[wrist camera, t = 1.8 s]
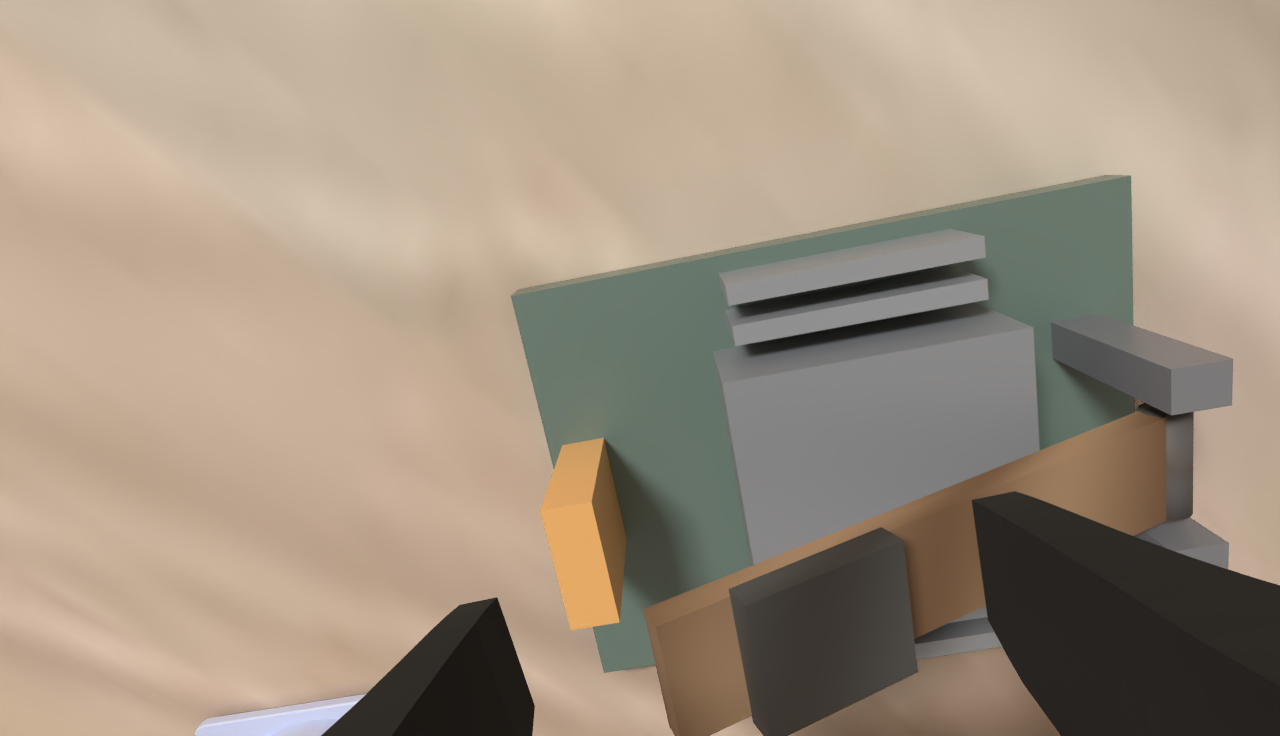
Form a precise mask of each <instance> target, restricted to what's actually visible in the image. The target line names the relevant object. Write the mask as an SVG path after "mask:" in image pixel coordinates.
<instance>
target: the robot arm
mask: <svg viewBox="0 0 1280 736" xmlns="http://www.w3.org/2000/svg"><path fill="white" fill-rule="evenodd" d="M972 507H973V514H974V521H975V529H976V536H977V543H978V551H979V558H980V565H981V573H982V580H983V587H984V595H985V602H986V609H987V617H988V621H989V623H990V625H991V627H992V628H993V630H994V632H995V634H996V636H997V638H998V639H999V641H1000V643H1001V645H1002V647H1003V649H1004V651H1005V652H1006V654H1007V656H1008V658H1009V659H1010V661H1011V663H1012V665H1013V666H1014V668H1015V670H1016V672H1017V673H1018V675H1019V677H1020V679H1021V680H1022V682H1023V684H1024V685H1025V686H1026V688H1027V689H1028V691H1029V692H1030V693H1031V695H1032V696H1033V698H1034V699H1035V700H1036V702H1037V703H1038V704H1039V706H1040V707H1041V709H1042V710H1043V711H1044V713H1045V714H1046V715H1047V717H1048V718H1049V720H1050V721H1051V722H1052V724H1053V725H1054V726H1055V728H1056V729H1057V731H1058V732H1059V733H1060V735H1061V736H1280V585H1276V584H1273V583H1269V582H1266V581H1263V580H1259V579H1256V578H1253V577H1250V576H1246V575H1243V574H1240V573H1237V572H1234V571H1231V570H1228V569H1225V568H1222V567H1219V566H1216V565H1213V564H1210V563H1207V562H1204V561H1201V560H1198V559H1195V558H1192V557H1189V556H1186V555H1183V554H1181V553H1178V552H1175V551H1172V550H1169V549H1167V548H1164V547H1161V546H1158V545H1156V544H1153V543H1150V542H1148V541H1145V540H1142V539H1140V538H1137V537H1134V536H1132V535H1129V534H1127V533H1124V532H1121V531H1119V530H1116V529H1114V528H1111V527H1109V526H1106V525H1103V524H1101V523H1098V522H1096V521H1093V520H1091V519H1088V518H1086V517H1083V516H1081V515H1078V514H1076V513H1073V512H1071V511H1068V510H1066V509H1063V508H1061V507H1058V506H1055V505H1053V504H1050V503H1048V502H1045V501H1042V500H1040V499H1037V498H1034V497H1031V496H1029V495H1026V494H1022V493H1019V492H1016V491H1013V492H1008V493H1003V494H999V495H994V496H989V497H984V498H979V499H974V500H972ZM534 707H535V706H534V703H533V700H532V697H531V694H530V691H529V688H528V685H527V682H526V680H525V677H524V674H523V671H522V668H521V665H520V662H519V659H518V656H517V654H516V651H515V648H514V645H513V642H512V639H511V636H510V633H509V630H508V627H507V625H506V622H505V619H504V616H503V613H502V610H501V607H500V604H499V601H498V598H492V599H487V600H482V601H477V602H472V603H468V604H463V605H459V606H458V607H457V608H456V609H454V610H453V611H452V612H451V613H450V614H448V615H447V616H446V617H445V618H444V619H443V620H442V621H441V622H440V623H439V624H437V625H436V626H435V627H434V628H433V629H432V630H431V631H430V632H429V633H428V634H427V635H426V636H425V637H424V638H423V639H422V640H421V641H420V642H419V643H418V644H417V645H416V646H415V647H414V648H413V649H412V650H411V651H410V652H409V653H408V654H407V655H406V656H405V657H404V658H403V659H402V660H401V661H400V662H399V663H398V664H397V665H396V666H395V667H394V668H393V669H392V670H391V671H390V672H388V673H387V674H386V675H385V676H384V677H383V678H382V679H381V680H380V681H379V682H378V683H377V684H376V685H375V686H374V687H373V688H372V689H371V690H370V691H369V692H368V693H367V694H362V695H355V696H349V697H343V698H336V699H330V700H323V701H317V702H310V703H304V704H297V705H291V706H284V707H278V708H271V709H265V710H258V711H252V712H246V713H239V714H233V715H226V716H220V717H213V718H209V719H206V720H204V721H203V722H202V723H201V725H200V726H199V727H198V728H197V730H196V732H195V736H532V731H533V719H534Z"/></svg>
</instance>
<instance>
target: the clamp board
mask: <svg viewBox="0 0 1280 736" xmlns="http://www.w3.org/2000/svg"><path fill="white" fill-rule="evenodd" d="M511 298H512V302H513V306H514V310H515V314H516V318H517V322H518V326H519V330H520V334H521V339H522V343H523V347H524V351H525V355H526V359H527V363H528V367H529V371H530V375H531V379H532V383H533V387H534V391H535V395H536V399H537V403H538V407H539V411H540V415H541V419H542V423H543V427H544V432H545V436H546V440H547V444H548V448H549V452H550V456H551V460H552V464H553V468H554V471H553V474H552V477H551V480H550V483H549V486H548V489H547V492H546V495H545V498H544V501H543V504H542V507H541V510H540V512H541V516H542V520H543V524H544V528H545V532H546V536H547V539H548V543H549V547H550V551H551V555H552V559H553V563H554V567H555V571H556V574H557V578H558V582H559V586H560V590H561V594H562V598H563V602H564V606H565V609H566V613H567V617H568V621H569V625H570V629H571V630H575V629H581V628H588V627H593V630H594V634H595V638H596V642H597V646H598V650H599V654H600V658H601V662H602V666H603V670H604V673H606V672H612V671H619V670H625V669H632V668H638V667H645V666H651V665H656V664H655V659H654V655H653V650H652V646H651V642H650V637H649V633H648V628H647V624H646V619H645V615H644V610H643V609H645V608H648V607H650V606H653V605H655V604H658V603H660V602H663V601H665V600H668V599H670V598H673V597H675V596H678V595H680V594H683V593H685V592H688V591H690V590H693V589H695V588H697V587H700V586H702V585H705V584H707V583H710V582H712V581H715V580H717V579H720V578H722V577H725V576H727V575H730V574H732V573H735V572H737V571H740V570H742V569H745V568H747V567H750V566H752V565H755V564H757V563H760V562H762V561H765V560H767V559H770V558H772V557H775V556H777V555H780V554H782V553H785V552H787V551H790V550H792V549H795V548H797V547H800V546H802V545H805V544H807V543H810V542H812V541H815V540H817V539H820V538H822V537H825V536H827V535H830V534H832V533H835V532H837V531H840V530H842V529H845V528H847V527H850V526H852V525H855V524H857V523H860V522H862V521H865V520H867V519H870V518H872V517H875V516H877V515H880V514H882V513H885V512H887V511H890V510H892V509H895V508H897V507H900V506H902V505H905V504H907V503H910V502H912V501H915V500H917V499H920V498H922V497H925V496H927V495H930V494H932V493H935V492H937V491H940V490H942V489H945V488H947V487H950V486H952V485H955V484H957V483H960V482H962V481H965V480H967V479H970V478H972V477H975V476H977V475H980V474H982V473H985V472H987V471H990V470H992V469H995V468H997V467H1000V466H1002V465H1005V464H1007V463H1010V462H1012V461H1015V460H1017V459H1020V458H1022V457H1025V456H1027V455H1030V454H1032V453H1035V452H1037V451H1040V450H1042V449H1045V448H1047V447H1050V446H1052V445H1055V444H1057V443H1060V442H1062V441H1065V440H1067V439H1070V438H1072V437H1075V436H1077V435H1080V434H1082V433H1085V432H1087V431H1090V430H1092V429H1095V428H1097V427H1100V426H1102V425H1105V424H1107V423H1110V422H1112V421H1115V420H1117V419H1120V418H1122V417H1124V416H1127V415H1129V414H1132V413H1134V398H1136V399H1138V400H1140V401H1142V402H1144V403H1147V404H1149V405H1151V406H1153V407H1155V408H1157V409H1159V410H1161V411H1163V412H1165V413H1167V414H1169V415H1177V414H1183V413H1189V412H1195V411H1201V410H1207V409H1212V408H1218V407H1224V406H1230V405H1232V381H1233V359H1232V358H1229V357H1226V356H1223V355H1220V354H1217V353H1214V352H1211V351H1208V350H1205V349H1202V348H1199V347H1196V346H1193V345H1190V344H1187V343H1184V342H1181V341H1178V340H1175V339H1172V338H1169V337H1166V336H1163V335H1160V334H1157V333H1154V332H1151V331H1148V330H1145V329H1142V328H1139V327H1136V326H1133V278H1132V211H1131V176H1122V175H1105V176H1100V177H1095V178H1090V179H1085V180H1080V181H1074V182H1069V183H1064V184H1059V185H1054V186H1049V187H1044V188H1039V189H1033V190H1028V191H1023V192H1018V193H1013V194H1008V195H1003V196H997V197H992V198H987V199H982V200H977V201H972V202H967V203H961V204H956V205H951V206H946V207H941V208H936V209H931V210H926V211H920V212H915V213H910V214H905V215H900V216H895V217H890V218H884V219H879V220H874V221H869V222H864V223H859V224H854V225H848V226H843V227H838V228H833V229H828V230H823V231H818V232H813V233H807V234H802V235H797V236H792V237H787V238H782V239H777V240H771V241H766V242H761V243H756V244H751V245H746V246H741V247H735V248H730V249H725V250H720V251H715V252H710V253H705V254H700V255H694V256H689V257H684V258H679V259H674V260H669V261H664V262H658V263H653V264H648V265H643V266H638V267H633V268H628V269H622V270H617V271H612V272H607V273H602V274H597V275H592V276H586V277H581V278H576V279H571V280H566V281H561V282H556V283H551V284H545V285H540V286H535V287H530V288H525V289H520V290H517V291H516V292H515V293H514V294H513V295H512V296H511ZM1134 537H1137V538H1140V539H1142V540H1145V541H1148V542H1150V543H1153V544H1156V545H1158V546H1161V547H1164V548H1167V549H1169V550H1172V551H1175V552H1178V553H1181V554H1183V555H1186V556H1189V557H1192V558H1195V559H1198V560H1201V561H1204V562H1207V563H1210V564H1213V565H1216V566H1219V567H1222V568H1225V569H1228V554H1229V543H1228V542H1227V541H1225V540H1223V539H1222V538H1220V537H1219V536H1217V535H1216V534H1214V533H1213V532H1211V531H1210V530H1208V529H1207V528H1205V527H1204V526H1202V525H1201V524H1199V523H1198V522H1196V521H1195V520H1193V519H1191V518H1190V517H1189V518H1187V519H1183V520H1176V521H1168V520H1166V521H1164V522H1162V523H1160V524H1158V525H1156V526H1153V527H1151V528H1149V529H1147V530H1145V531H1143V532H1141V533H1139V534H1136V535H1134ZM914 641H915V650H916V659H917V660H918V659H925V658H931V657H938V656H945V655H951V654H958V653H965V652H971V651H978V650H985V649H991V648H998V647H1002V645H1001V643H1000V641H999V639H998V638H997V636H996V634H995V632H994V630H993V628H992V627H991V625H990V623H989V621H988V617H987V609H986V606H983V607H981V608H979V609H977V610H975V611H973V612H971V613H969V614H966V615H964V616H962V617H960V618H958V619H956V620H954V621H952V622H949V623H947V624H945V625H943V626H941V627H939V628H937V629H935V630H932V631H930V632H928V633H926V634H924V635H922V636H920V637H918V638H915V639H914Z"/></svg>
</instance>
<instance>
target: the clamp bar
mask: <svg viewBox="0 0 1280 736" xmlns="http://www.w3.org/2000/svg"><path fill="white" fill-rule="evenodd" d="M1013 491H1016V492H1019V493H1022V494H1026V495H1029V496H1031V497H1034V498H1037V499H1040V500H1042V501H1045V502H1048V503H1050V504H1053V505H1055V506H1058V507H1061V508H1063V509H1066V510H1068V511H1071V512H1073V513H1076V514H1078V515H1081V516H1083V517H1086V518H1088V519H1091V520H1093V521H1096V522H1098V523H1101V524H1103V525H1106V526H1109V527H1111V528H1114V529H1116V530H1119V531H1121V532H1124V533H1127V534H1129V535H1132V536H1134V535H1136V534H1139V533H1141V532H1143V531H1145V530H1147V529H1149V528H1151V527H1153V526H1156V525H1158V524H1160V523H1162V522H1164V521H1166V520H1168V521H1176V520H1183V519H1187V518H1189V517H1190V516H1191V515H1192V514H1193V412H1189V413H1183V414H1177V415H1169V414H1167V413H1165V412H1163V411H1161V410H1159V409H1157V408H1155V407H1153V406H1151V405H1149V404H1147V403H1143V404H1141V405H1139V406H1138V411H1137V412H1134V413H1132V414H1129V415H1127V416H1124V417H1122V418H1120V419H1117V420H1115V421H1112V422H1110V423H1107V424H1105V425H1102V426H1100V427H1097V428H1095V429H1092V430H1090V431H1087V432H1085V433H1082V434H1080V435H1077V436H1075V437H1072V438H1070V439H1067V440H1065V441H1062V442H1060V443H1057V444H1055V445H1052V446H1050V447H1047V448H1045V449H1042V450H1040V451H1037V452H1035V453H1032V454H1030V455H1027V456H1025V457H1022V458H1020V459H1017V460H1015V461H1012V462H1010V463H1007V464H1005V465H1002V466H1000V467H997V468H995V469H992V470H990V471H987V472H985V473H982V474H980V475H977V476H975V477H972V478H970V479H967V480H965V481H962V482H960V483H957V484H955V485H952V486H950V487H947V488H945V489H942V490H940V491H937V492H935V493H932V494H930V495H927V496H925V497H922V498H920V499H917V500H915V501H912V502H910V503H907V504H905V505H902V506H900V507H897V508H895V509H892V510H890V511H887V512H885V513H882V514H880V515H877V516H875V517H872V518H870V519H867V520H865V521H862V522H860V523H857V524H855V525H852V526H850V527H847V528H845V529H842V530H840V531H837V532H835V533H832V534H830V535H827V536H825V537H822V538H820V539H817V540H815V541H812V542H810V543H807V544H805V545H802V546H800V547H797V548H795V549H792V550H790V551H787V552H785V553H782V554H780V555H777V556H775V557H772V558H770V559H767V560H765V561H762V562H760V563H757V564H755V565H752V566H750V567H747V568H745V569H742V570H740V571H737V572H735V573H732V574H730V575H727V576H725V577H722V578H720V579H717V580H715V581H712V582H710V583H707V584H705V585H702V586H700V587H697V588H695V589H693V590H690V591H688V592H685V593H683V594H680V595H678V596H675V597H673V598H670V599H668V600H665V601H663V602H660V603H658V604H655V605H653V606H650V607H648V608H645V609H643V610H644V615H645V619H646V624H647V628H648V633H649V637H650V642H651V646H652V650H653V655H654V659H655V664H656V668H657V673H658V677H659V682H660V686H661V691H662V695H663V700H664V704H665V708H666V713H667V717H668V722H669V726H670V728H671V730H672V731H673V733H674V735H675V736H709V735H711V734H714V733H716V732H718V731H720V730H722V729H724V728H726V727H728V726H731V725H733V724H735V723H737V722H739V721H741V720H743V719H745V718H748V717H750V716H752V718H753V722H754V724H755V725H756V726H757V728H758V729H759V730H760V731H761V733H762V734H763V735H764V736H788V735H790V734H792V733H794V732H796V731H798V730H800V729H802V728H804V727H806V726H808V725H810V724H812V723H814V722H817V721H819V720H821V719H823V718H825V717H827V716H829V715H831V714H833V713H835V712H837V711H839V710H841V709H843V708H845V707H847V706H849V705H851V704H853V703H855V702H858V701H860V700H862V699H864V698H866V697H868V696H870V695H872V694H874V693H876V692H878V691H880V690H882V689H884V688H886V687H888V686H890V685H892V684H894V683H896V682H898V681H901V680H903V679H905V678H907V677H909V676H911V675H913V674H915V673H917V672H918V668H917V659H916V650H915V641H914V639H915V638H918V637H920V636H922V635H924V634H926V633H928V632H930V631H932V630H935V629H937V628H939V627H941V626H943V625H945V624H947V623H949V622H952V621H954V620H956V619H958V618H960V617H962V616H964V615H966V614H969V613H971V612H973V611H975V610H977V609H979V608H981V607H983V606H986V602H985V595H984V587H983V580H982V573H981V565H980V558H979V551H978V543H977V536H976V529H975V521H974V514H973V507H972V500H974V499H979V498H984V497H989V496H994V495H999V494H1003V493H1008V492H1013Z"/></svg>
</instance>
